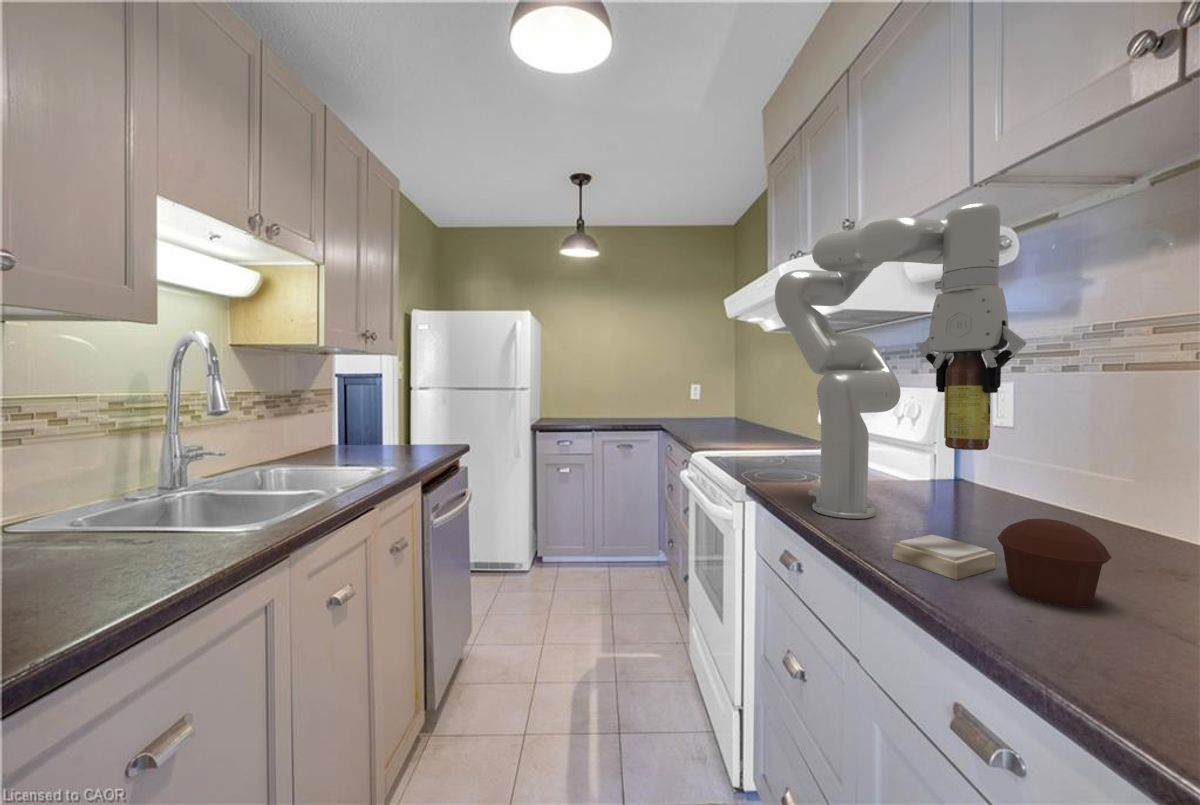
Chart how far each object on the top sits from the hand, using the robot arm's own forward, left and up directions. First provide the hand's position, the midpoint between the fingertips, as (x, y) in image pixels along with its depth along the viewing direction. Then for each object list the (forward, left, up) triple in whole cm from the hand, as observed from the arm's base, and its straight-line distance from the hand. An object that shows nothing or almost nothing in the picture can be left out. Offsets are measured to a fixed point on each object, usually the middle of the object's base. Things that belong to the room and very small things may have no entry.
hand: (966, 391), depth 85 cm
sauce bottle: (0, 0, -10) cm, 10 cm away
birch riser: (+1, -7, -28) cm, 29 cm away
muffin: (+14, -5, -28) cm, 32 cm away
